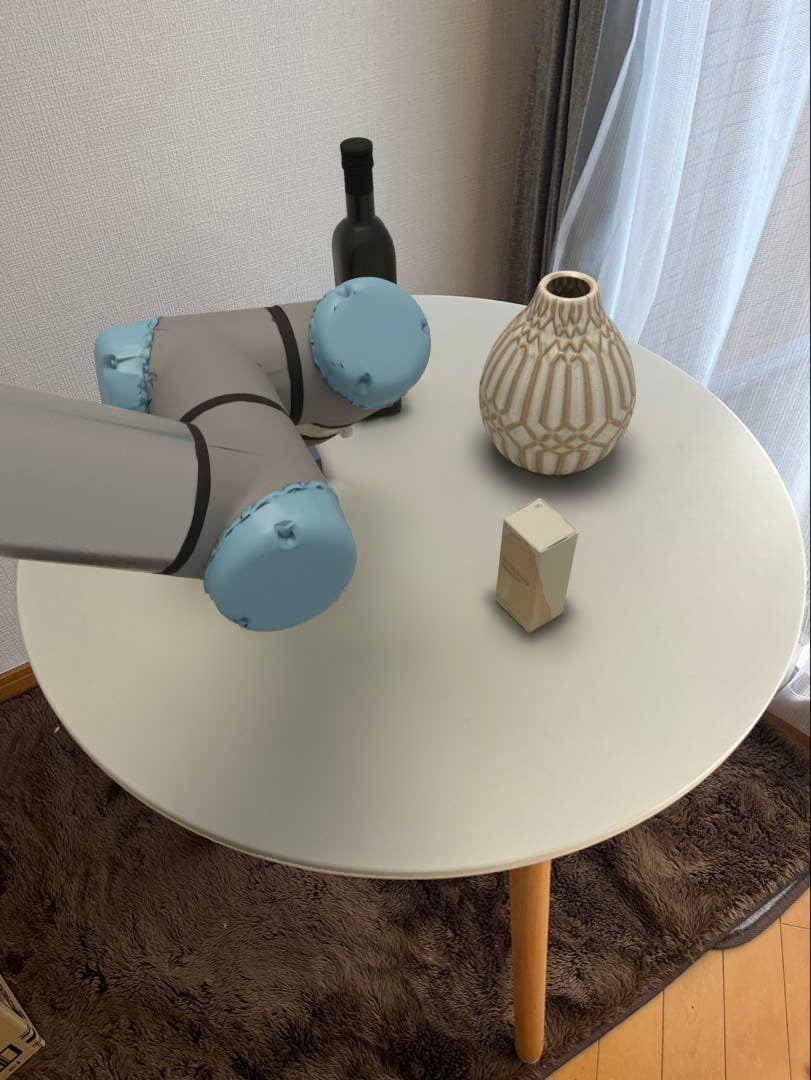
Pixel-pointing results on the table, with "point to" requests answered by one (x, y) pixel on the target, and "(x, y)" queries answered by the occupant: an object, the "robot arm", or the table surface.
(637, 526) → the table surface
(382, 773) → the table surface
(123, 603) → the table surface
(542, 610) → the box
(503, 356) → the vase
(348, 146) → the wine bottle
